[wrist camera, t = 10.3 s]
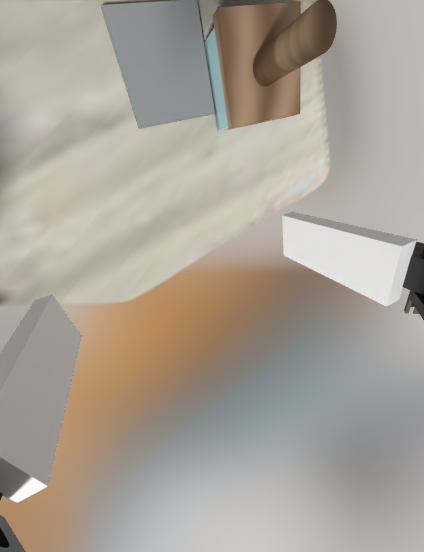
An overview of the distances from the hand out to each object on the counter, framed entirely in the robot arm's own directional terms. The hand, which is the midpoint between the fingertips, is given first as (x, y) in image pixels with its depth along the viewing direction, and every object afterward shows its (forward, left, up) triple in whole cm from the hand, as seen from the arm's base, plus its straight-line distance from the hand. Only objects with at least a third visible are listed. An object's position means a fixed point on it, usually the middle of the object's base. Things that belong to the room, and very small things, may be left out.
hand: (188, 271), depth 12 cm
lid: (+20, +13, -22) cm, 32 cm away
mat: (+9, +16, -27) cm, 32 cm away
